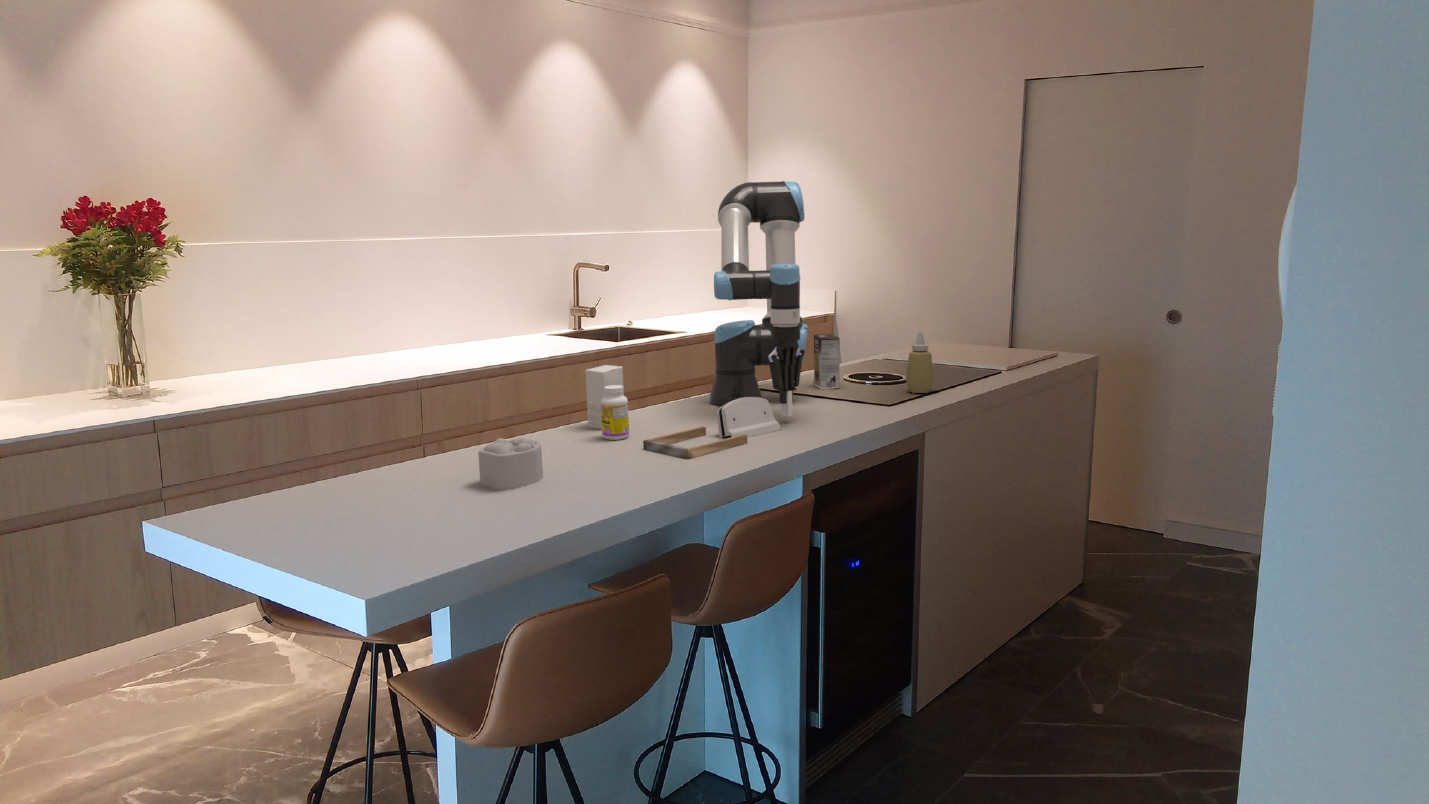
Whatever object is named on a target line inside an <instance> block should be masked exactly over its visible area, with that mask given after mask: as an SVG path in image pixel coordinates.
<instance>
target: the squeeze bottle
mask: <svg viewBox="0 0 1429 804" xmlns="http://www.w3.org/2000/svg"><path fill="white" fill-rule="evenodd" d="M911 347H912V348H911V350H912V351H910V352H909V353H908V358H907V359H908V360H907V366H906V367H907V368H906V369H907V370H906V377H905V382H906V385H907V389H908V391H909V393H911V392H912V394H915V393H925V394H929V393H930V392H931V389H932V386H933V384H934V381H935V380H934V379H935V378H934V370H933V369H934V368H933V367H934V366H933V358H932V353H931V352H930V351H929V344H927V343H926V344H925V339H924V333H923V332H918V334H917V337H916V341H915V344H912V345H911Z"/></svg>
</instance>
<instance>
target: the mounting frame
mask: <svg viewBox="0 0 1429 804" xmlns="http://www.w3.org/2000/svg"><path fill="white" fill-rule="evenodd" d="M706 435H707V428H706V426H698V427H693V428H691V429H686V430H682V431H678V432H674V433H669V434H665V435H662V436H657V437H653V438H648V439H643V440H642V444H643V450H646V451H652V452H656V453H659V454H664V455H669V456H672V457H678V458H682V459H686V460H691V459H694V458H698V457H701V456H704V455H708V454H712V453H716V452H720V451H723V450H728V449H730V448H734V447H739V446H742V445H746V444H748V443H749V442H748V437H747V435H745V434H743V435H739V436H735V437H731V436H730V437H728V438H727V437H726V438H724V439H720V440H717V441H716V440H715V441H712V442H709V443H706V444H701V445H697V446H693V447H690V448H689V447H688V448H687V447H682V446H678V445H673V444H675V443H679V442H682V441H683V442H684V441H687V440H691V439H696V438H699V437H703V436H706ZM745 443H746V444H745Z"/></svg>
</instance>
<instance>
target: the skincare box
mask: <svg viewBox="0 0 1429 804" xmlns="http://www.w3.org/2000/svg"><path fill="white" fill-rule="evenodd" d="M610 385H621V386H623V390H624V367H623V366H621V365H619V366H618V365H609V364H604V365H601V366H595V367H593V368H586V369H585V386H586V387H585V388H586V389H585V390H586V406H587V407H586V408H587V425H588V428H589V429H595V430H601V431H602V415H601V400H602V398H603V397H605V392H604V387H605V386H610ZM624 393H625V391H623V396H625V394H624Z"/></svg>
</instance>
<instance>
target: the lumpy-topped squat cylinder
mask: <svg viewBox="0 0 1429 804" xmlns="http://www.w3.org/2000/svg"><path fill="white" fill-rule="evenodd" d="M477 453H478V467H479V484H480V486H482V487H487V486H490V487H489V488H491V487H492V488H491V489H494V490H497V489H504V490H503V491H506V490H505V489H509V490H514V489H518V487H519V488H522V487H521V486H523V487H527V486H530V485H529V484H531V485H534V484H535V483H536V482H537V483H538V481H539V482H540V481H541V480H542V479H544V472H543V471H544V467H543V455H542V453H543V452H542V444H541V442H539V441H535V440H533V439H531V438H525V437H522V436H521V437H519V436H518V437H515V438H513V439H512V440H507V439H506V438H501V437H499V438H497V439H495V440H494V442H493V443H489V444H486V446H485V447H482V448H480V449H479V450H478V452H477ZM537 483H536V484H537Z"/></svg>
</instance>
